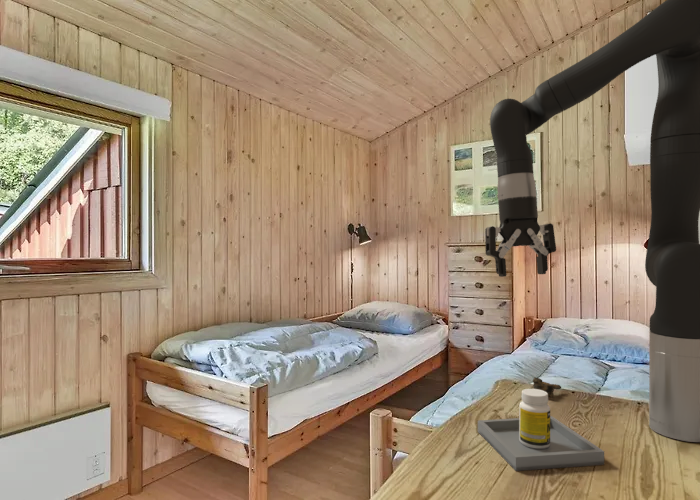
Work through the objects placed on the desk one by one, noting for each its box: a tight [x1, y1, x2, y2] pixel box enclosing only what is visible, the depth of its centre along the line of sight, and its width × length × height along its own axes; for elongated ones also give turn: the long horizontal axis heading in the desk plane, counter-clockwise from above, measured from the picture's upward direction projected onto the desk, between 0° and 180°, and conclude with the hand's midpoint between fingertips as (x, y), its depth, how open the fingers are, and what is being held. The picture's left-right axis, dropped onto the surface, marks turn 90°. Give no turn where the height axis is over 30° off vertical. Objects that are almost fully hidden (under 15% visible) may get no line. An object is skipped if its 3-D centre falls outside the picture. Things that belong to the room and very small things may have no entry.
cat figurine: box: [532, 377, 562, 398], centre depth 100 cm, size 3×8×4 cm, turn 113°
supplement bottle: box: [518, 388, 551, 449], centre depth 75 cm, size 5×5×8 cm
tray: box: [477, 415, 605, 472], centre depth 75 cm, size 14×14×2 cm
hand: (522, 275), depth 95 cm, fingers open, 8 cm apart
